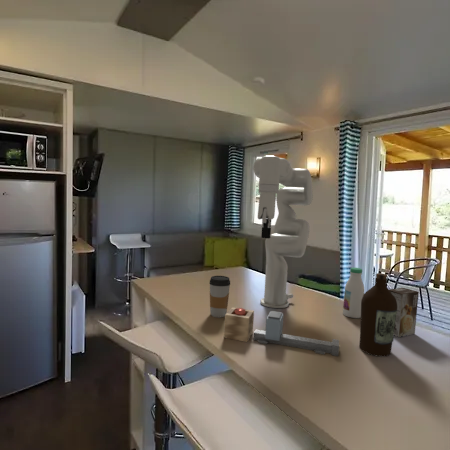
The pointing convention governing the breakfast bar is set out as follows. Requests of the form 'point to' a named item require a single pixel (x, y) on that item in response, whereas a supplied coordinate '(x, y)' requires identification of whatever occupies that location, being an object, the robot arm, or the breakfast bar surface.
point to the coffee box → (405, 311)
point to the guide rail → (301, 342)
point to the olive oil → (378, 318)
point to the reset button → (240, 311)
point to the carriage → (274, 325)
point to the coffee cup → (219, 295)
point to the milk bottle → (353, 294)
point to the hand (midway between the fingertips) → (265, 237)
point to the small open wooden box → (238, 325)
